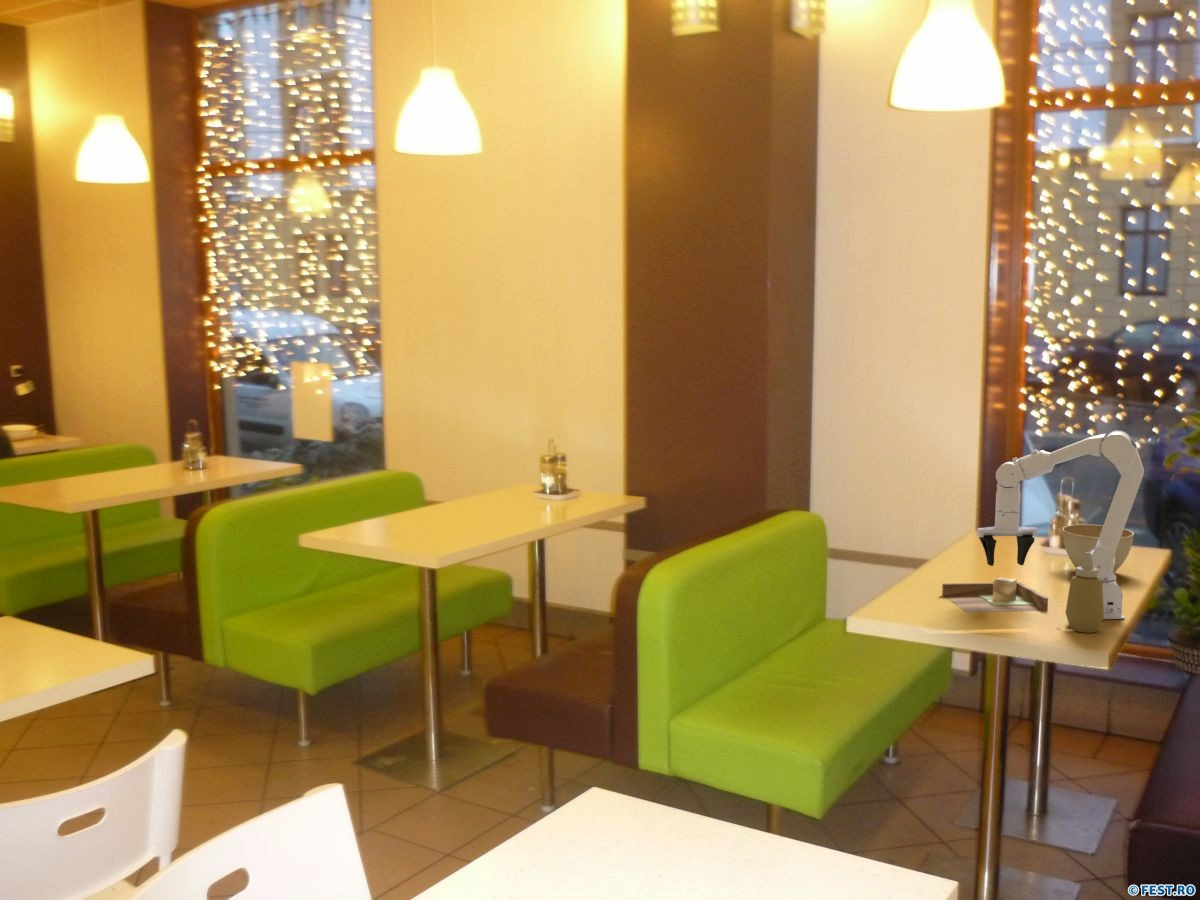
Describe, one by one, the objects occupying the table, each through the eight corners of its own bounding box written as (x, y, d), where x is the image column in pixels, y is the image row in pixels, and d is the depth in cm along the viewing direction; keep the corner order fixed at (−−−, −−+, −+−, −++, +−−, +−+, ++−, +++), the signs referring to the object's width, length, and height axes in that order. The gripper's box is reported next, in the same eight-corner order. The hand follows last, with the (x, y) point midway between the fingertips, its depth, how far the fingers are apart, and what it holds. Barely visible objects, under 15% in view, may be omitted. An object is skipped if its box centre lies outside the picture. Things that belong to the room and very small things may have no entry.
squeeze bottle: (1064, 623, 264) (1068, 547, 261) (1102, 627, 261) (1107, 550, 258) (1064, 632, 256) (1068, 554, 254) (1103, 636, 253) (1107, 557, 251)
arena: (1047, 613, 272) (1048, 598, 272) (966, 615, 271) (966, 599, 270) (1018, 596, 288) (1019, 582, 288) (942, 598, 287) (942, 583, 286)
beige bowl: (1046, 569, 318) (1048, 527, 317) (1096, 564, 324) (1099, 522, 323) (1094, 583, 301) (1096, 539, 300) (1146, 578, 307) (1149, 534, 306)
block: (1015, 599, 282) (1016, 579, 281) (1008, 602, 278) (1009, 582, 278) (1000, 596, 284) (1001, 576, 284) (992, 599, 281) (993, 579, 280)
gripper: (1029, 507, 283) (1026, 560, 285) (972, 508, 282) (970, 561, 284) (1041, 512, 276) (1039, 566, 278) (984, 513, 275) (981, 568, 277)
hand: (1005, 564), depth 280 cm, fingers open, 7 cm apart
